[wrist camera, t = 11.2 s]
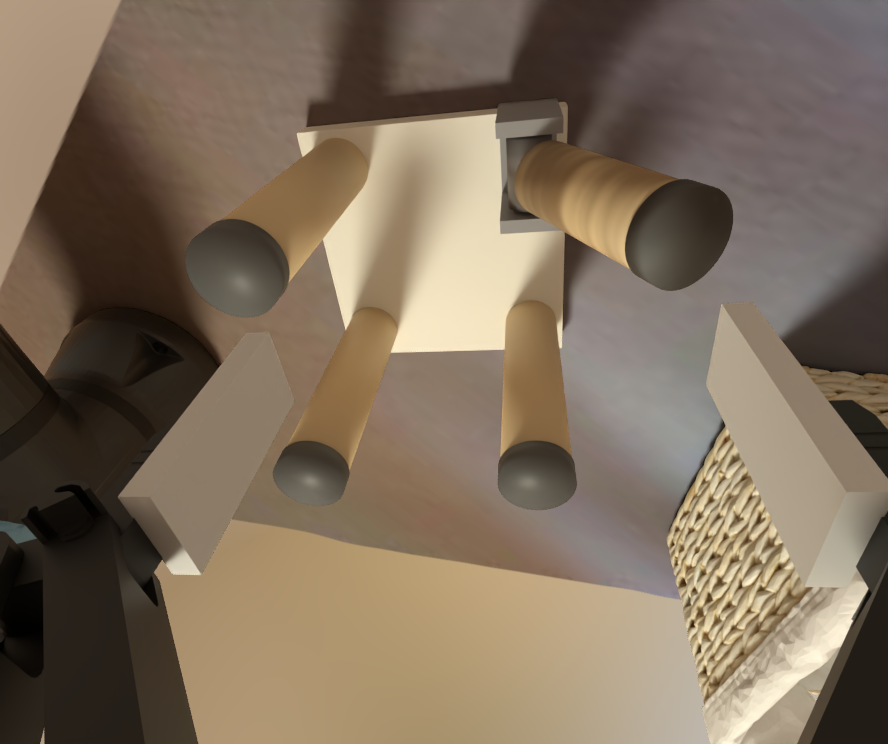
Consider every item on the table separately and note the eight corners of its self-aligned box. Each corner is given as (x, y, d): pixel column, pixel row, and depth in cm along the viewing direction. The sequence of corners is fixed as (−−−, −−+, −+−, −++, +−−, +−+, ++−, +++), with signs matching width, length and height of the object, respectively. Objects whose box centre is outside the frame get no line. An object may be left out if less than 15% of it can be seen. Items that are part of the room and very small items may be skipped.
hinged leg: (549, 194, 34) (489, 208, 33) (549, 123, 32) (485, 136, 31) (721, 276, 23) (638, 301, 22) (743, 176, 20) (650, 199, 19)
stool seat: (357, 341, 48) (280, 509, 32) (303, 117, 37) (150, 209, 22) (560, 335, 45) (582, 515, 30) (565, 91, 34) (605, 174, 19)
